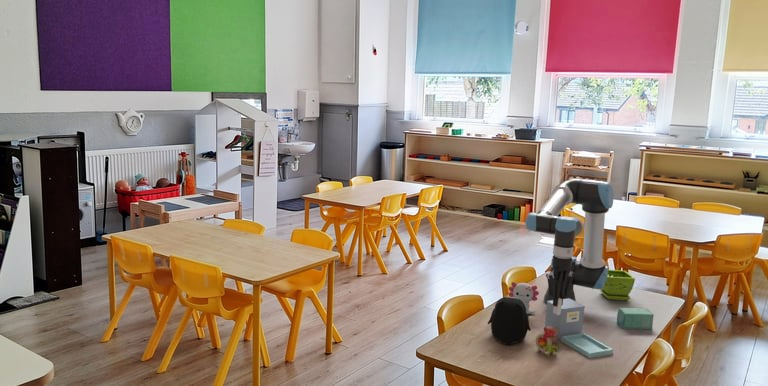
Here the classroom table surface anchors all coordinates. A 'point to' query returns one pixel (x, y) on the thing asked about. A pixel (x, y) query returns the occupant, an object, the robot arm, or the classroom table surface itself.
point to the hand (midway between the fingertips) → (556, 313)
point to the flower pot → (618, 285)
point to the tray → (587, 345)
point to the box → (635, 318)
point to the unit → (566, 317)
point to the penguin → (509, 320)
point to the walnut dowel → (554, 340)
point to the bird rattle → (546, 341)
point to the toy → (524, 294)
